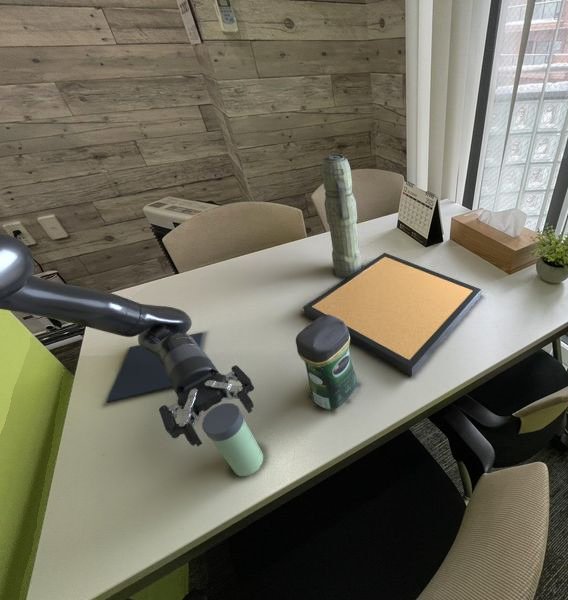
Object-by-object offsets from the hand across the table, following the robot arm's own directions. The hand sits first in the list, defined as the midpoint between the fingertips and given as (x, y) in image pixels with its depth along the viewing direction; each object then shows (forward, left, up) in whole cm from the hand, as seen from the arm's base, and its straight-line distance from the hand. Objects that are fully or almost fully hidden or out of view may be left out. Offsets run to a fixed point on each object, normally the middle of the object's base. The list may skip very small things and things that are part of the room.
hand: (225, 425), depth 54 cm
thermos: (+31, +52, -8) cm, 61 cm away
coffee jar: (+19, +7, -8) cm, 21 cm away
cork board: (+40, +30, -8) cm, 50 cm away
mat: (-18, +27, -8) cm, 34 cm away
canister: (+2, -3, -8) cm, 9 cm away
